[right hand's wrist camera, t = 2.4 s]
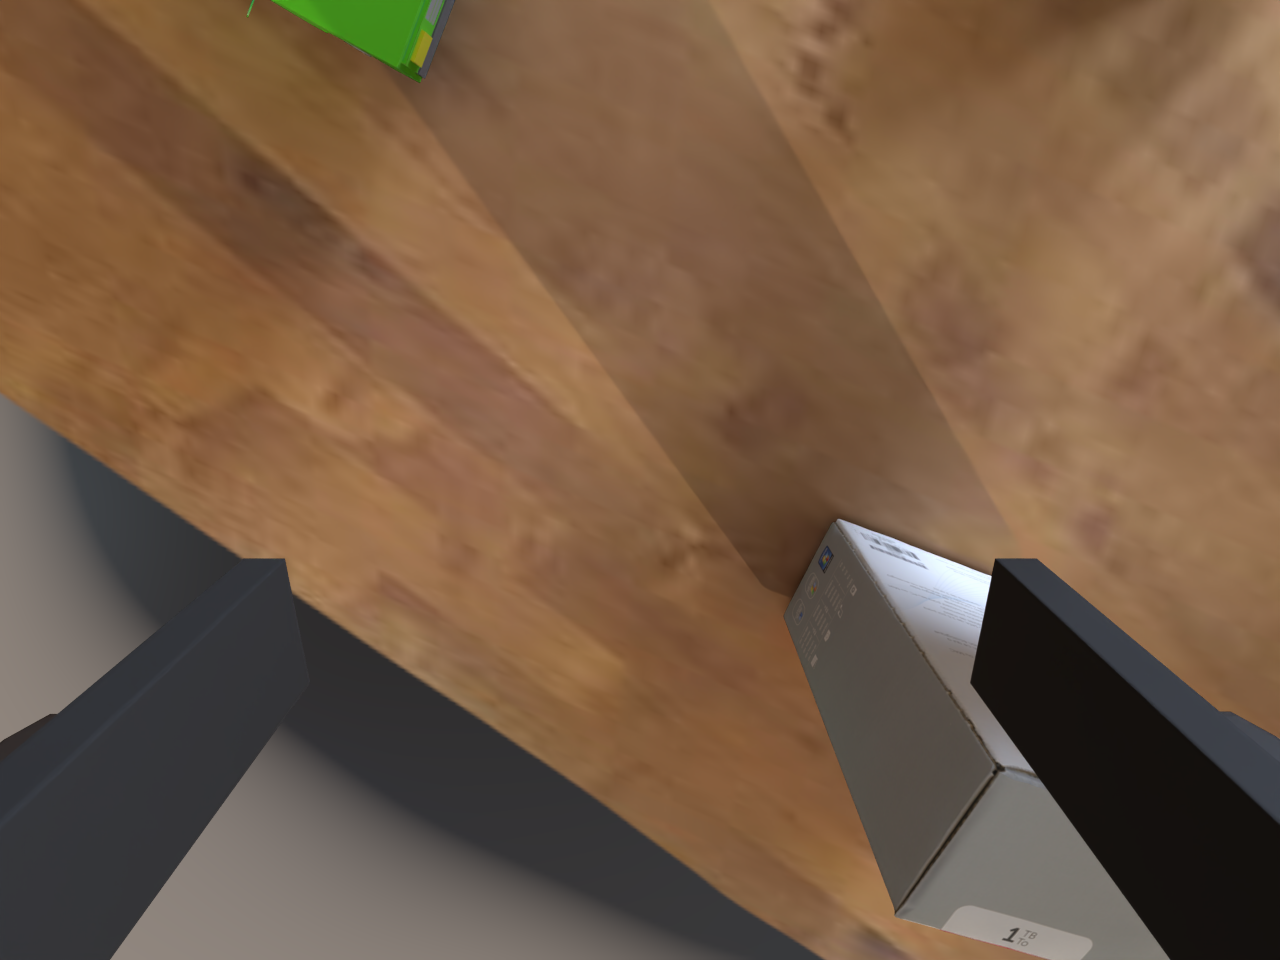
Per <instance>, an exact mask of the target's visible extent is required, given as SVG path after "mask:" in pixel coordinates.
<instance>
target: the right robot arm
mask: <svg viewBox="0 0 1280 960" xmlns="http://www.w3.org/2000/svg"><path fill="white" fill-rule="evenodd" d="M309 684H310V680H309V675H308V670H307V665H306V661H305V656H304V651H303V646H302V641H301V636H300V631H299V626H298V621H297V616H296V612H295V606H294V602H293V596H292V592H291V587H290V582H289V577H288V572H287V567H286V562H285V559H242V560H241V561H240V562H239V563H238V564H236V565H235V566H234V567H233V568H232V569H230V570H229V571H228V572H227V573H226V574H224V575H223V576H222V577H221V578H220V579H218V580H217V581H216V582H215V583H214V584H212V585H211V586H210V587H209V588H208V589H206V590H205V591H204V592H203V593H202V594H201V595H199V596H198V597H197V598H196V599H195V600H193V601H192V602H191V603H190V604H189V605H187V606H186V607H185V608H184V609H183V610H181V611H180V612H179V613H178V614H177V615H175V616H174V617H173V618H172V619H171V620H169V621H168V622H167V623H166V624H165V625H163V626H162V627H161V628H160V629H159V630H158V631H156V632H155V633H154V634H153V635H152V636H150V637H149V638H148V639H147V640H146V641H144V642H143V643H142V644H141V645H140V646H138V647H137V648H136V649H135V650H134V651H132V652H131V653H130V654H129V655H128V656H126V657H125V658H124V659H123V660H122V661H120V662H119V663H118V664H117V665H116V666H115V667H113V668H112V669H111V670H110V671H109V672H107V673H106V674H105V675H104V676H103V677H101V678H100V679H99V680H98V681H97V682H95V683H94V684H93V685H92V686H91V687H89V688H88V689H87V690H86V691H85V692H83V693H82V694H81V695H80V696H79V697H78V698H76V699H75V700H74V701H73V702H71V703H70V704H69V705H68V706H67V707H66V708H64V709H63V710H62V711H61V712H60V713H58V714H49V715H48V716H46V717H44V718H42V719H40V720H39V721H37V722H35V723H33V724H31V725H30V726H28V727H26V728H24V729H22V730H21V731H19V732H17V733H15V734H13V735H11V736H10V737H8V738H6V739H4V740H3V741H2V742H0V960H110V959H111V958H112V956H113V955H114V953H115V952H116V951H117V949H118V948H119V946H120V945H121V944H122V942H123V941H124V940H125V938H126V937H127V935H128V934H129V933H130V931H131V930H132V928H133V927H134V926H135V924H136V923H137V921H138V920H139V919H140V917H141V916H142V915H143V913H144V912H145V910H146V909H147V908H148V906H149V905H150V904H151V902H152V901H153V899H154V898H155V897H156V895H157V894H158V893H159V891H160V890H161V888H162V887H163V886H164V884H165V883H166V881H167V880H168V879H169V877H170V876H171V875H172V873H173V872H174V870H175V869H176V868H177V866H178V865H179V863H180V862H181V861H182V859H183V858H184V857H185V855H186V854H187V852H188V851H189V850H190V848H191V847H192V845H193V844H194V843H195V841H196V840H197V839H198V837H199V836H200V834H201V833H202V832H203V830H204V829H205V828H206V826H207V825H208V823H209V822H210V821H211V819H212V818H213V816H214V815H215V814H216V812H217V811H218V810H219V808H220V807H221V805H222V804H223V803H224V801H225V800H226V798H227V797H228V796H229V794H230V793H231V792H232V790H233V789H234V787H235V786H236V785H237V783H238V782H239V781H240V779H241V778H242V776H243V775H244V774H245V772H246V771H247V769H248V768H249V767H250V765H251V764H252V763H253V761H254V760H255V758H256V757H257V756H258V754H259V753H260V751H261V750H262V749H263V747H264V746H265V745H266V743H267V742H268V740H269V739H270V738H271V736H272V735H273V733H274V732H275V731H276V729H277V728H278V727H279V725H280V724H281V722H282V721H283V720H284V718H285V717H286V716H287V714H288V713H289V711H290V710H291V709H292V707H293V706H294V704H295V703H296V702H297V700H298V699H299V698H300V696H301V695H302V693H303V692H304V691H305V689H306V688H307V686H308V685H309ZM970 684H971V685H972V686H973V688H974V689H975V691H976V692H977V693H978V695H979V696H980V698H981V699H982V700H983V702H984V703H985V704H986V706H987V707H988V709H989V710H990V711H991V713H992V714H993V716H994V717H995V718H996V720H997V721H998V722H999V724H1000V725H1001V727H1002V728H1003V729H1004V731H1005V732H1006V733H1007V735H1008V736H1009V738H1010V739H1011V740H1012V742H1013V743H1014V745H1015V746H1016V747H1017V749H1018V750H1019V751H1020V753H1021V754H1022V756H1023V757H1024V758H1025V760H1026V761H1027V763H1028V764H1029V765H1030V767H1031V768H1032V769H1033V771H1034V772H1035V774H1036V775H1037V776H1038V778H1039V779H1040V781H1041V782H1042V783H1043V785H1044V786H1045V787H1046V789H1047V790H1048V792H1049V793H1050V794H1051V796H1052V797H1053V798H1054V800H1055V801H1056V803H1057V804H1058V805H1059V807H1060V808H1061V810H1062V811H1063V812H1064V814H1065V815H1066V816H1067V818H1068V819H1069V821H1070V822H1071V823H1072V825H1073V826H1074V828H1075V829H1076V830H1077V832H1078V833H1079V834H1080V836H1081V837H1082V839H1083V840H1084V841H1085V843H1086V844H1087V846H1088V847H1089V848H1090V850H1091V851H1092V852H1093V854H1094V855H1095V857H1096V858H1097V859H1098V861H1099V862H1100V863H1101V865H1102V866H1103V868H1104V869H1105V870H1106V872H1107V873H1108V875H1109V876H1110V877H1111V879H1112V880H1113V881H1114V883H1115V884H1116V886H1117V887H1118V888H1119V890H1120V891H1121V893H1122V894H1123V895H1124V897H1125V898H1126V899H1127V901H1128V902H1129V904H1130V905H1131V906H1132V908H1133V909H1134V911H1135V912H1136V913H1137V915H1138V916H1139V917H1140V919H1141V920H1142V922H1143V923H1144V924H1145V926H1146V927H1147V928H1148V930H1149V931H1150V933H1151V934H1152V935H1153V937H1154V938H1155V940H1156V941H1157V942H1158V944H1159V945H1160V946H1161V948H1162V949H1163V951H1164V952H1165V953H1166V955H1167V956H1168V958H1169V959H1170V960H1280V739H1279V738H1277V737H1276V736H1274V735H1272V734H1270V733H1269V732H1267V731H1265V730H1263V729H1261V728H1259V727H1258V726H1256V725H1254V724H1252V723H1250V722H1249V721H1247V720H1245V719H1243V718H1241V717H1239V716H1238V715H1236V714H1234V713H1232V712H1219V711H1218V710H1217V709H1216V708H1215V707H1213V706H1212V705H1211V704H1210V703H1209V702H1207V701H1206V700H1205V699H1204V698H1203V697H1201V696H1200V695H1199V694H1198V693H1197V692H1195V691H1194V690H1193V689H1192V688H1191V687H1189V686H1188V685H1187V684H1186V683H1185V682H1183V681H1182V680H1181V679H1180V678H1179V677H1177V676H1176V675H1175V674H1174V673H1173V672H1171V671H1170V670H1169V669H1168V668H1167V667H1166V666H1164V665H1163V664H1162V663H1161V662H1160V661H1158V660H1157V659H1156V658H1155V657H1154V656H1152V655H1151V654H1150V653H1149V652H1148V651H1146V650H1145V649H1144V648H1143V647H1142V646H1140V645H1139V644H1138V643H1137V642H1136V641H1134V640H1133V639H1132V638H1131V637H1130V636H1128V635H1127V634H1126V633H1125V632H1124V631H1123V630H1121V629H1120V628H1119V627H1118V626H1117V625H1115V624H1114V623H1113V622H1112V621H1111V620H1109V619H1108V618H1107V617H1106V616H1105V615H1103V614H1102V613H1101V612H1100V611H1099V610H1097V609H1096V608H1095V607H1094V606H1093V605H1091V604H1090V603H1089V602H1088V601H1087V600H1085V599H1084V598H1083V597H1082V596H1081V595H1080V594H1078V593H1077V592H1076V591H1075V590H1074V589H1072V588H1071V587H1070V586H1069V585H1068V584H1066V583H1065V582H1064V581H1063V580H1062V579H1060V578H1059V577H1058V576H1057V575H1056V574H1054V573H1053V572H1052V571H1051V570H1050V569H1048V568H1047V567H1046V566H1045V565H1044V564H1042V563H1041V562H1040V561H1039V560H1038V559H995V562H994V567H993V572H992V577H991V582H990V587H989V592H988V596H987V601H986V606H985V611H984V616H983V621H982V626H981V631H980V636H979V641H978V646H977V651H976V656H975V661H974V665H973V670H972V675H971V680H970Z"/></svg>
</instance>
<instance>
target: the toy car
mask: <svg viewBox="0 0 1280 960" xmlns="http://www.w3.org/2000/svg"><path fill="white" fill-rule="evenodd" d="M271 1H272V2H274V3H276V4H278V5H279V6H281V7H283V8H284V9H286V10H288V11H289V12H291V13H293V14H295V15H296V16H298V17H300V18H301V19H303V20H305V21H306V22H308V23H310V24H312V25H313V26H315V27H317V28H319V29H320V30H322V31H324V32H326V33H328V32H329V33H331V34H332V35H334V36H336V37H338V38H340V39H342V40H344V42H346V43H348V44H349V45H351V46H352V47H354V48H356V49H358V50H359V51H361V52H363V53H364V54H366V55H368V56H370V57H374V58H376V59H378V60H380V61H381V62H383V63H385V64H386V65H388V66H390V67H391V68H393V69H395V70H397V71H398V72H400V73H402V74H404V75H406V76H408V77H410V78H411V79H413V80H415V81H417V82H419V83H420V82H421V79H422V77H423V78H424V79H425V77H426V75H427V72H428V69H429V67H430V64H431V62H432V59H433V56H434V54H435V51H436V49H437V46H438V43H439V41H440V38H441V36H442V33H443V30H444V28H445V25H446V22H447V20H448V17H449V15H450V12H451V9H452V7H453V4H454V2H455V0H271ZM253 3H254V0H252V2H251V5H250V8H249V11H248V13H247V16H246V17H248V16H249V13H250V11H251V8H252V5H253Z"/></svg>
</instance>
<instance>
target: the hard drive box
mask: <svg viewBox="0 0 1280 960" xmlns="http://www.w3.org/2000/svg"><path fill="white" fill-rule="evenodd" d="M991 577H992V576H989V575H986V574H983V573H981V572H978V571H976V570H973V569H970V568H968V567H966V566H963V565H961V564H958V563H955V562H953V561H950V560H947V559H945V558H942V557H939V556H937V555H934V554H931V553H929V552H926V551H924V550H921V549H918V548H916V547H913V546H910V545H908V544H906V543H903V542H901V541H898V540H896V539H893V538H891V537H888V536H885V535H882V534H880V533H877V532H874V531H871V530H868V529H865V528H863V527H860V526H858V525H855V524H852V523H850V522H847V521H844V520H841V519H837V521H836V522H835V523H834V522H833V523H832V524H831V526H830V527H829V529H828V531H827V533H826V535H825V537H824V538H823V540H822V542H821V544H820V546H819V548H818V550H817V552H816V554H815V556H814V558H813V559H812V561H811V563H810V565H809V567H808V569H807V571H806V573H805V575H804V577H803V579H802V581H801V583H800V584H799V586H798V588H797V590H796V592H795V594H794V596H793V598H792V600H791V602H790V604H789V606H788V608H787V609H786V612H785V614H784V619H785V621H786V624H787V627H788V630H789V632H790V635H791V637H792V640H793V642H794V645H795V648H796V650H797V653H798V656H799V659H800V661H801V664H802V666H803V669H804V672H805V675H806V677H807V680H808V682H809V685H810V688H811V690H812V693H813V696H814V698H815V701H816V703H817V706H818V709H819V711H820V714H821V717H822V719H823V722H824V725H825V727H826V730H827V732H828V735H829V738H830V740H831V743H832V746H833V748H834V751H835V754H836V756H837V759H838V761H839V764H840V767H841V769H842V772H843V775H844V777H845V780H846V782H847V785H848V788H849V790H850V793H851V795H852V798H853V801H854V803H855V806H856V809H857V811H858V814H859V816H860V819H861V822H862V824H863V827H864V830H865V832H866V835H867V837H868V840H869V843H870V845H871V848H872V851H873V853H874V856H875V859H876V861H877V864H878V867H879V869H880V872H881V875H882V877H883V880H884V882H885V885H886V888H887V890H888V893H889V895H890V898H891V901H892V903H893V906H894V910H895V915H894V916H895V917H897V918H900V919H904V920H908V921H911V922H915V923H919V924H922V925H926V926H930V927H933V928H937V929H939V930H942V931H945V932H949V933H953V934H957V935H961V936H964V937H968V938H971V939H975V940H978V941H982V942H986V943H990V944H993V945H997V946H1001V947H1004V948H1008V949H1011V950H1015V951H1018V952H1022V953H1026V954H1029V955H1033V956H1037V957H1041V958H1044V959H1048V960H1170V959H1169V958H1168V956H1167V955H1166V953H1165V952H1164V951H1163V949H1162V948H1161V946H1160V945H1159V944H1158V942H1157V941H1156V940H1155V938H1154V937H1153V935H1152V934H1151V933H1150V931H1149V930H1148V928H1147V927H1146V926H1145V924H1144V923H1143V922H1142V920H1141V919H1140V917H1139V916H1138V915H1137V913H1136V912H1135V911H1134V909H1133V908H1132V906H1131V905H1130V904H1129V902H1128V901H1127V899H1126V898H1125V897H1124V895H1123V894H1122V893H1121V891H1120V890H1119V888H1118V887H1117V886H1116V884H1115V883H1114V881H1113V880H1112V879H1111V877H1110V876H1109V875H1108V873H1107V872H1106V870H1105V869H1104V868H1103V866H1102V865H1101V863H1100V862H1099V861H1098V859H1097V858H1096V857H1095V855H1094V854H1093V852H1092V851H1091V850H1090V848H1089V847H1088V846H1087V844H1086V843H1085V841H1084V840H1083V839H1082V837H1081V836H1080V834H1079V833H1078V832H1077V830H1076V829H1075V828H1074V826H1073V825H1072V823H1071V822H1070V821H1069V819H1068V818H1067V816H1066V815H1065V814H1064V812H1063V811H1062V810H1061V808H1060V807H1059V805H1058V804H1057V803H1056V801H1055V800H1054V798H1053V797H1052V796H1051V794H1050V793H1049V792H1048V790H1047V789H1046V787H1045V786H1044V785H1043V783H1042V782H1041V781H1040V779H1039V778H1038V776H1037V775H1036V774H1035V772H1034V771H1033V769H1032V768H1031V767H1030V765H1029V764H1028V763H1027V761H1026V760H1025V758H1024V757H1023V756H1022V754H1021V753H1020V751H1019V750H1018V749H1017V747H1016V746H1015V745H1014V743H1013V742H1012V740H1011V739H1010V738H1009V736H1008V735H1007V733H1006V732H1005V731H1004V729H1003V728H1002V727H1001V725H1000V724H999V722H998V721H997V720H996V718H995V717H994V716H993V714H992V713H991V711H990V710H989V709H988V707H987V706H986V704H985V703H984V702H983V700H982V699H981V698H980V696H979V695H978V693H977V692H976V691H975V689H974V688H973V686H972V685H971V684H970V680H971V675H972V670H973V665H974V661H975V656H976V651H977V646H978V641H979V636H980V631H981V626H982V621H983V616H984V611H985V606H986V601H987V596H988V592H989V587H990V582H991Z"/></svg>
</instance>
